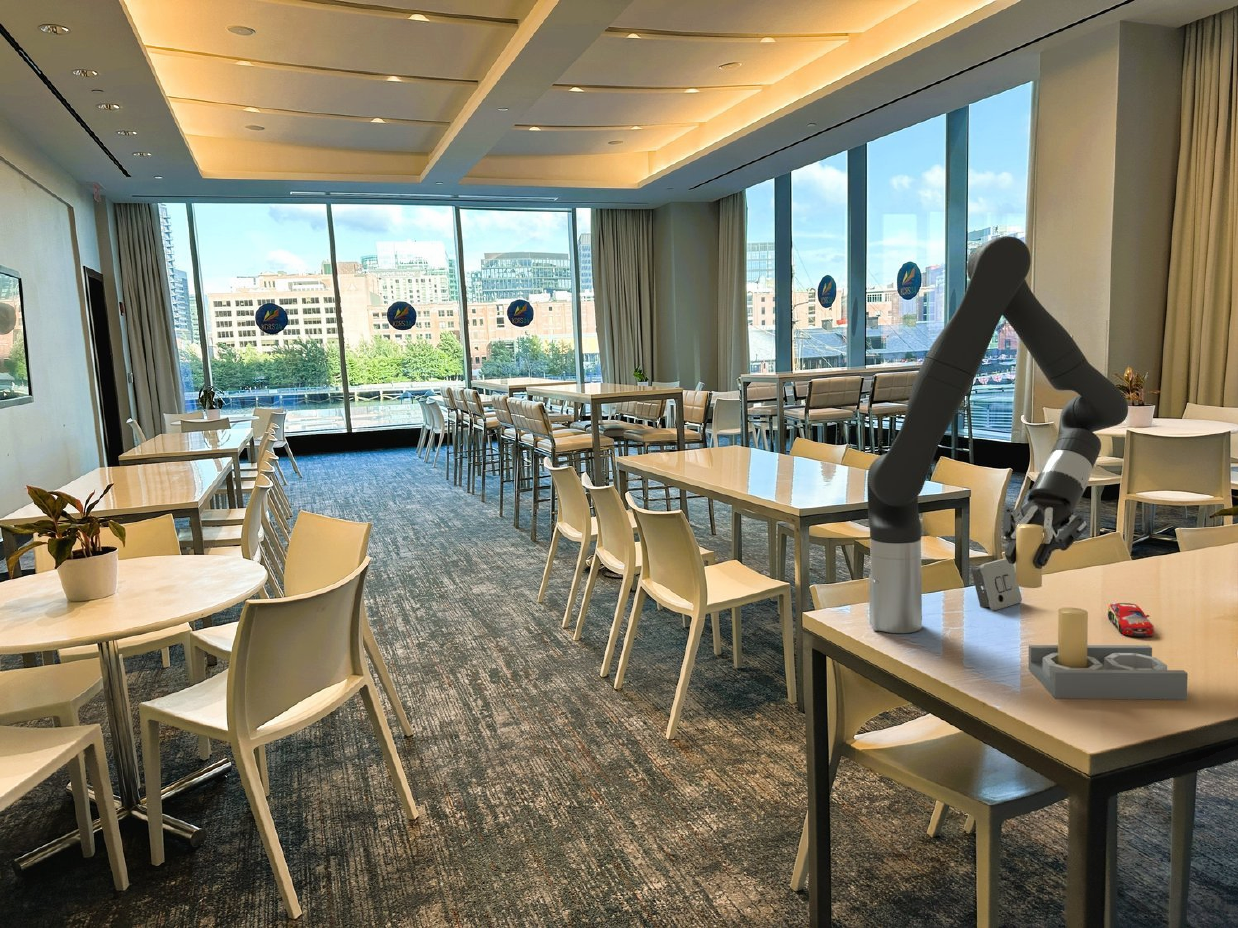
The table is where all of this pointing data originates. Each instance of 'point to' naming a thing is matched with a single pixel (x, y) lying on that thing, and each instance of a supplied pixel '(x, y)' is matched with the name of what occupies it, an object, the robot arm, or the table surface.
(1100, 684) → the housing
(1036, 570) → the domed yellow post
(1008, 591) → the electrical switch
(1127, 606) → the race car
